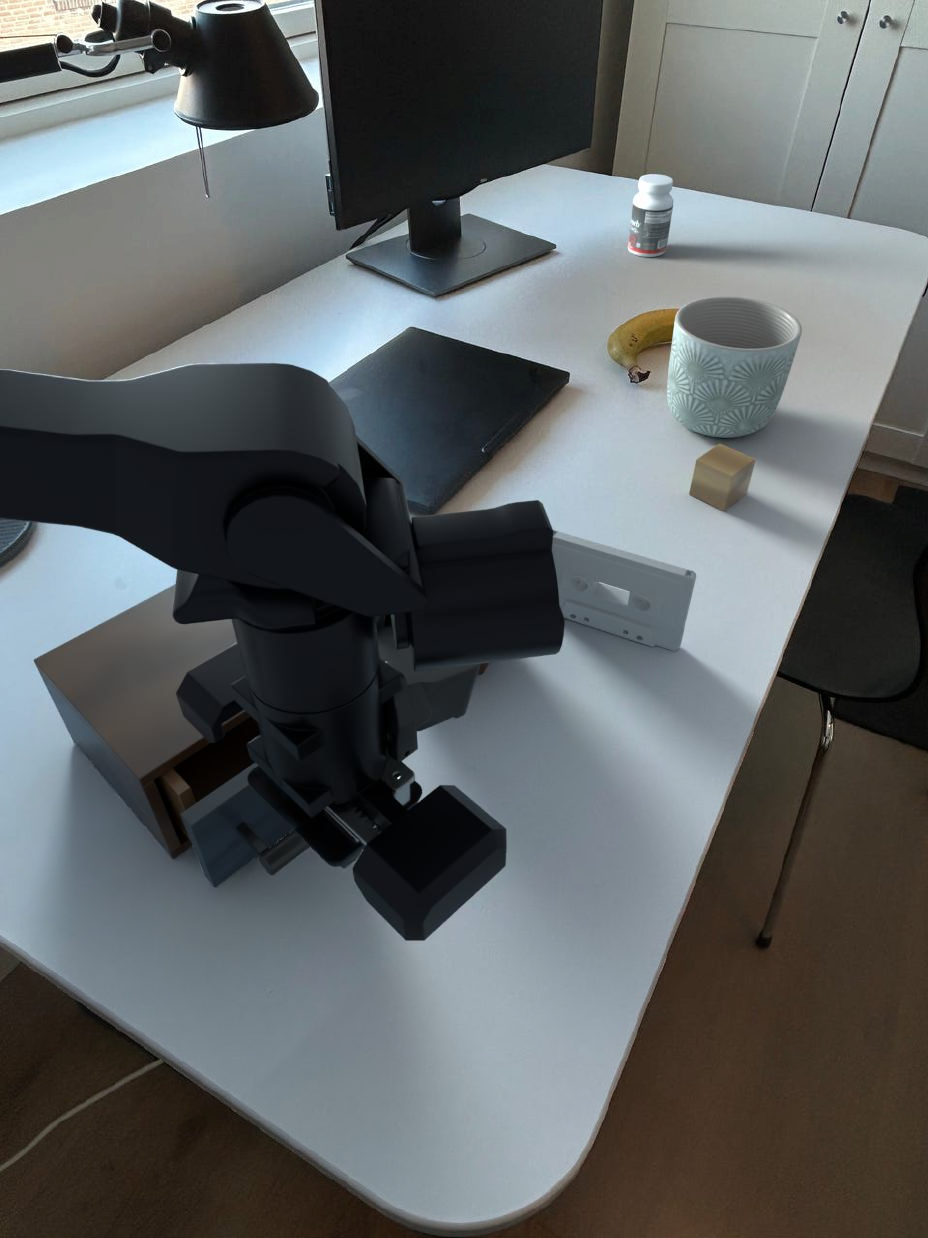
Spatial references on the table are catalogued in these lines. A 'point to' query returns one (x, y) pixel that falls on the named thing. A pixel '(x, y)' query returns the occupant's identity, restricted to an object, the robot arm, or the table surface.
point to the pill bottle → (651, 216)
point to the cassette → (635, 615)
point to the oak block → (721, 476)
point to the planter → (729, 364)
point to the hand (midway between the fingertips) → (347, 859)
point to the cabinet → (135, 701)
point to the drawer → (227, 809)
